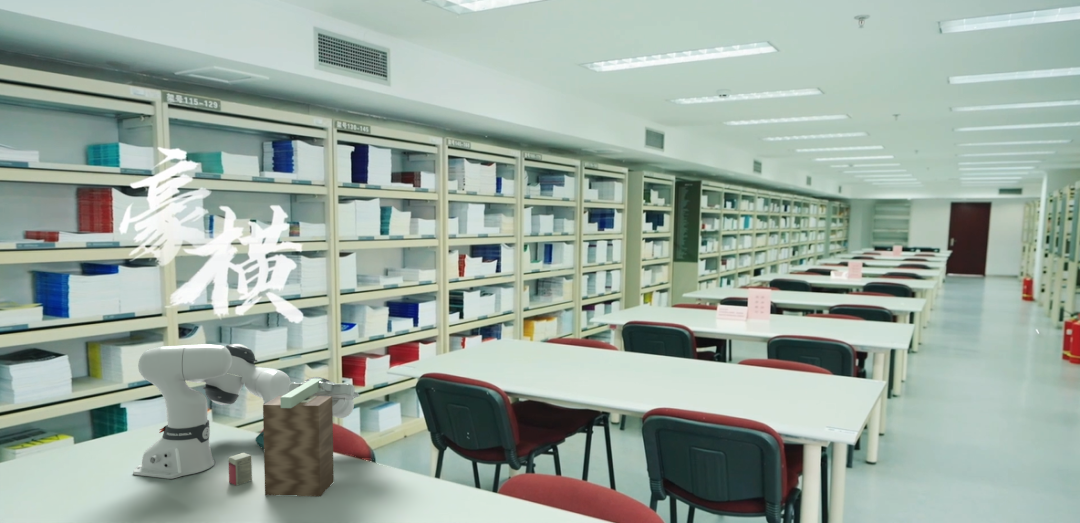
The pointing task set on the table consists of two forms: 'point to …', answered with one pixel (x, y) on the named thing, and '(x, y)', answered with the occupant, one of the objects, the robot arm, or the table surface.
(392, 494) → the table surface
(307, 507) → the table surface
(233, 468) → the small box
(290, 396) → the bar
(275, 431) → the stand
